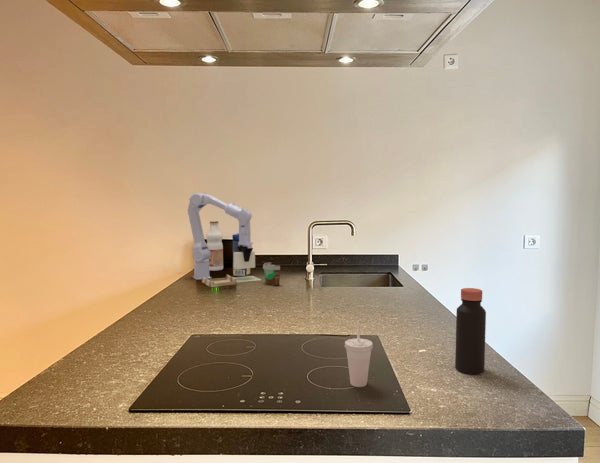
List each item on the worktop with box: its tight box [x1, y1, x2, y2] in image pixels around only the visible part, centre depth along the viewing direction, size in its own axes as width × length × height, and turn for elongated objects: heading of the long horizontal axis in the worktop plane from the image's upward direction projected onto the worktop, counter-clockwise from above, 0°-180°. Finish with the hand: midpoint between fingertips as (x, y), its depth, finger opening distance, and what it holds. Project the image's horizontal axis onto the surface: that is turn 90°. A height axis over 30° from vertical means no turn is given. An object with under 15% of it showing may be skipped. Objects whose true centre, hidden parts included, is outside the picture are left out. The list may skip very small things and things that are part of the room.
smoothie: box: [344, 322, 374, 388], centre depth 104 cm, size 6×6×14 cm
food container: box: [262, 261, 281, 287], centre depth 219 cm, size 12×6×10 cm, turn 25°
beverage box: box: [231, 232, 251, 277], centre depth 247 cm, size 7×11×22 cm, turn 173°
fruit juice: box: [206, 220, 224, 272], centre depth 263 cm, size 9×9×28 cm
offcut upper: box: [213, 281, 231, 284], centre depth 218 cm, size 4×8×1 cm, turn 115°
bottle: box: [454, 287, 487, 375], centre depth 112 cm, size 7×7×20 cm
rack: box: [201, 274, 238, 288], centre depth 222 cm, size 14×13×3 cm
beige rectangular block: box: [232, 250, 256, 269], centre depth 231 cm, size 4×10×8 cm, turn 117°
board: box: [234, 275, 263, 284], centre depth 232 cm, size 13×13×1 cm
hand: (245, 260), depth 231 cm, fingers closed on beige rectangular block, 4 cm apart
